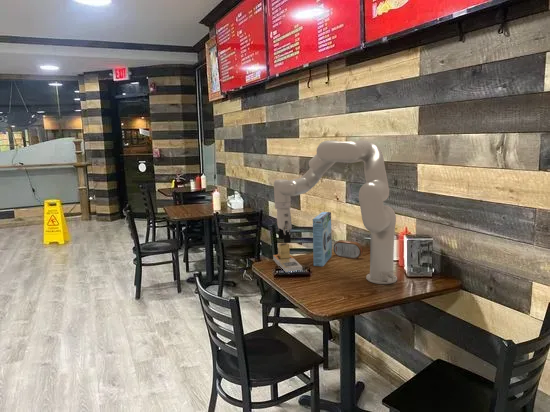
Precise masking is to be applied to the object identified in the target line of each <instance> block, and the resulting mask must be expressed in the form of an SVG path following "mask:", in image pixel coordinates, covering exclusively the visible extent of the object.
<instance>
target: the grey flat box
mask: <svg viewBox="0 0 550 412" xmlns="http://www.w3.org/2000/svg"><path fill="white" fill-rule="evenodd" d="M272 258H273V262H275V264H276V265H277V266H278V267H279V266H280V267H281V268H282V269H283V270H284V271H285V272H288V271H295V270H302V271H303V266H302V264H300V263H299V262H298V261H297V260H296V259H295V258H294V257H293V256H292V255H291V254H290V258H289V259H279V258H278V254H273V255H272ZM280 267H279V268H280ZM281 268H280V269H281ZM282 269H281V270H282Z"/></svg>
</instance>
